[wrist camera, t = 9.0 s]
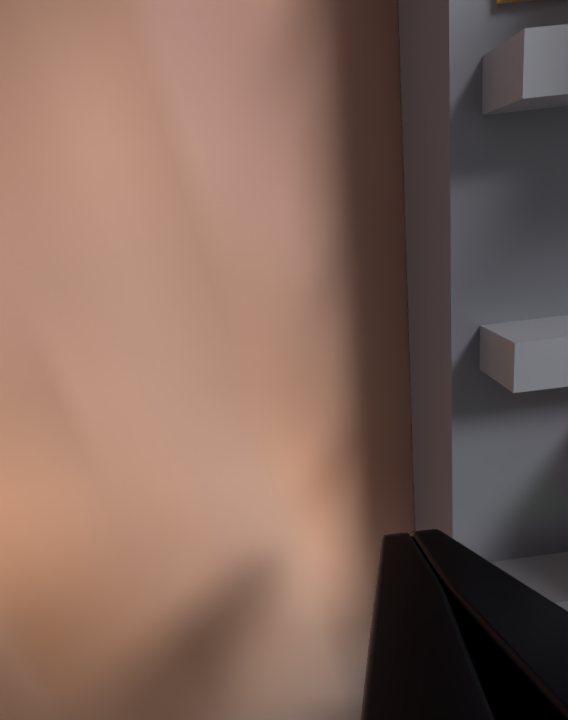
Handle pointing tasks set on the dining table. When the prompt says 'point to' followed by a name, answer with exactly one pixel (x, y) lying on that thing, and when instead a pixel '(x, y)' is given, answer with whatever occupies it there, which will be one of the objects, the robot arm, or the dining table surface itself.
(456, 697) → the robot arm
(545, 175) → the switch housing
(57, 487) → the dining table surface
